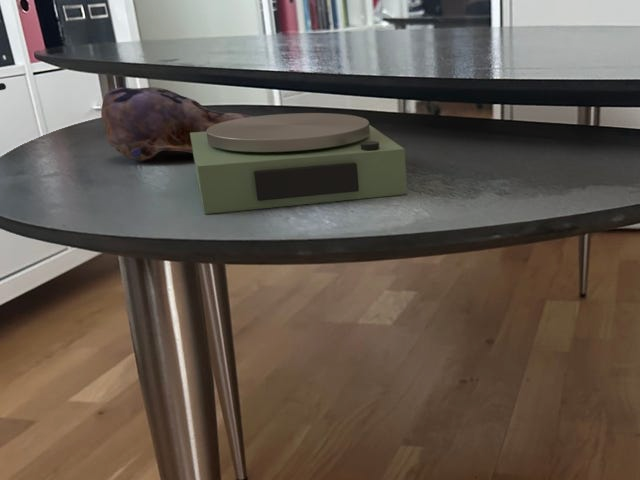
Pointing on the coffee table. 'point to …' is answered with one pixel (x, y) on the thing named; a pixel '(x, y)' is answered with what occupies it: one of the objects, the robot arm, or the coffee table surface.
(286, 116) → the scale pan
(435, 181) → the coffee table surface
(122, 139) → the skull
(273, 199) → the scale
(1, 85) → the robot arm
